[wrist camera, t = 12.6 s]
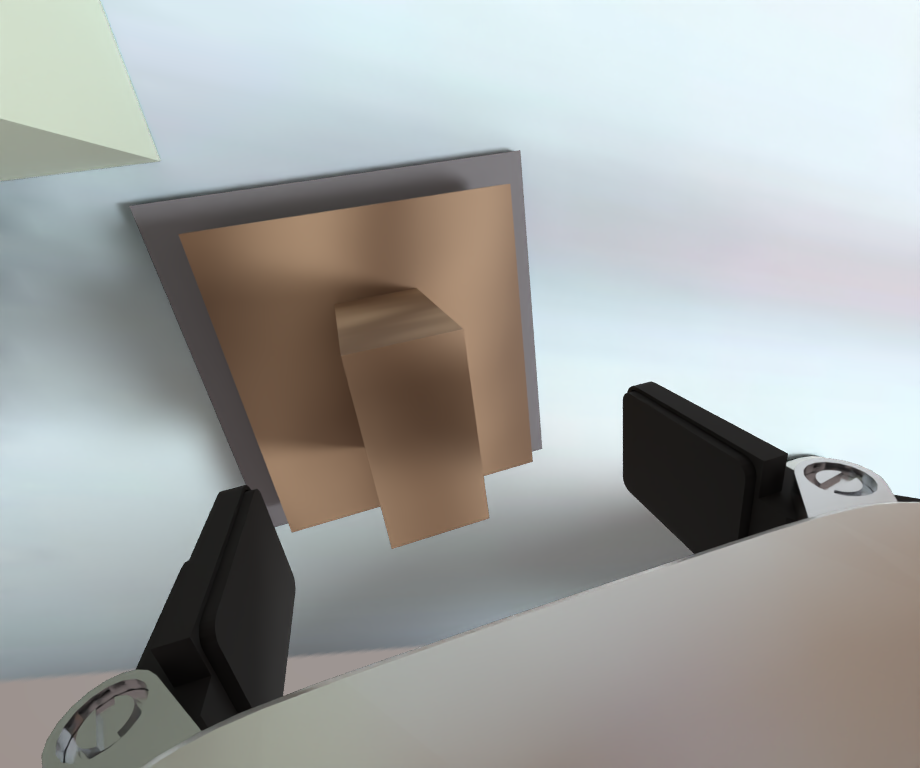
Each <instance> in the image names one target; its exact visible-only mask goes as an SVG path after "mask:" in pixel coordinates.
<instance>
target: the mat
mask: <svg viewBox="0 0 920 768" xmlns="http://www.w3.org/2000/svg"><path fill="white" fill-rule="evenodd" d="M503 184H510V185H511V198H512V210H513V223H514V235H515V248H516V260H517V273H518V285H519V298H520V310H521V323H522V335H523V348H524V360H525V373H526V385H527V398H528V410H529V422H530V435H531V447H532V452H533V451H536V450H539V449H542V441H541V427H540V413H539V400H538V386H537V372H536V359H535V345H534V331H533V318H532V304H531V290H530V277H529V263H528V249H527V236H526V222H525V209H524V195H523V181H522V168H521V154H520V150H519V151H512V152H505V153H498V154H491V155H484V156H477V157H470V158H463V159H456V160H449V161H442V162H435V163H428V164H421V165H414V166H407V167H400V168H393V169H386V170H378V171H371V172H364V173H357V174H350V175H343V176H336V177H329V178H322V179H315V180H308V181H301V182H294V183H287V184H280V185H273V186H266V187H259V188H252V189H245V190H238V191H231V192H223V193H216V194H209V195H202V196H195V197H188V198H181V199H174V200H167V201H160V202H153V203H146V204H139V205H132V206H129V207H130V209H131V211H132V214H133V216H134V219H135V221H136V223H137V226H138V228H139V231H140V233H141V235H142V238H143V240H144V242H145V245H146V247H147V250H148V252H149V254H150V257H151V259H152V262H153V264H154V266H155V269H156V271H157V274H158V276H159V278H160V281H161V283H162V285H163V288H164V290H165V293H166V295H167V297H168V300H169V302H170V305H171V307H172V309H173V312H174V314H175V316H176V319H177V321H178V324H179V326H180V328H181V331H182V333H183V336H184V338H185V340H186V343H187V345H188V347H189V350H190V352H191V355H192V357H193V359H194V362H195V364H196V367H197V369H198V371H199V374H200V376H201V378H202V381H203V383H204V386H205V388H206V390H207V393H208V395H209V398H210V400H211V402H212V405H213V407H214V409H215V412H216V414H217V417H218V419H219V421H220V424H221V426H222V429H223V431H224V433H225V436H226V438H227V440H228V443H229V445H230V448H231V450H232V452H233V455H234V457H235V460H236V462H237V464H238V467H239V469H240V471H241V474H242V476H243V479H244V481H245V483H246V485H247V486H249V487H250V489H251V490H254V489H258V490H259V491H260V493H261V495H262V497H263V500H264V502H265V505H266V507H267V510H268V512H269V515H270V518H271V520H272V523H273V525H274V527H277V526H280V525H284V524H287V523H288V521H287V518H286V515H285V513H284V510H283V508H282V505H281V502H280V500H279V497H278V495H277V492H276V489H275V487H274V484H273V481H272V479H271V476H270V474H269V471H268V468H267V466H266V463H265V460H264V458H263V455H262V453H261V450H260V447H259V445H258V442H257V439H256V437H255V434H254V432H253V429H252V426H251V424H250V421H249V418H248V416H247V413H246V411H245V408H244V405H243V403H242V400H241V397H240V395H239V392H238V390H237V387H236V384H235V382H234V379H233V376H232V374H231V371H230V369H229V366H228V363H227V361H226V358H225V355H224V353H223V350H222V348H221V345H220V342H219V340H218V337H217V334H216V332H215V329H214V327H213V324H212V321H211V319H210V316H209V313H208V311H207V308H206V306H205V303H204V300H203V298H202V295H201V292H200V290H199V287H198V285H197V282H196V279H195V277H194V274H193V271H192V269H191V266H190V264H189V261H188V258H187V256H186V253H185V251H184V248H183V245H182V243H181V240H180V237H179V235H178V234H182V233H187V232H194V231H200V230H207V229H213V228H220V227H227V226H233V225H240V224H246V223H253V222H259V221H266V220H272V219H279V218H286V217H292V216H299V215H305V214H312V213H318V212H325V211H332V210H338V209H345V208H351V207H358V206H364V205H371V204H377V203H384V202H391V201H397V200H404V199H410V198H417V197H423V196H430V195H437V194H443V193H450V192H456V191H463V190H469V189H476V188H482V187H489V186H496V185H503Z"/></svg>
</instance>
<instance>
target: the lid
mask: <svg viewBox="0 0 920 768" xmlns="http://www.w3.org/2000/svg"><path fill="white" fill-rule="evenodd" d="M178 235H179V237H180V240H181V243H182V245H183V248H184V251H185V253H186V256H187V258H188V261H189V264H190V266H191V269H192V271H193V274H194V277H195V279H196V282H197V285H198V287H199V290H200V292H201V295H202V298H203V300H204V303H205V306H206V308H207V311H208V313H209V316H210V319H211V321H212V324H213V327H214V329H215V332H216V334H217V337H218V340H219V342H220V345H221V348H222V350H223V353H224V355H225V358H226V361H227V363H228V366H229V369H230V371H231V374H232V376H233V379H234V382H235V384H236V387H237V390H238V392H239V395H240V397H241V400H242V403H243V405H244V408H245V411H246V413H247V416H248V418H249V421H250V424H251V426H252V429H253V432H254V434H255V437H256V439H257V442H258V445H259V447H260V450H261V453H262V455H263V458H264V460H265V463H266V466H267V468H268V471H269V474H270V476H271V479H272V481H273V484H274V487H275V489H276V492H277V495H278V497H279V500H280V502H281V505H282V508H283V510H284V513H285V515H286V518H287V521H288V523H289V526H290V529H291V531H292V532H295V531H299V530H302V529H306V528H309V527H312V526H316V525H319V524H323V523H326V522H329V521H333V520H336V519H340V518H343V517H346V516H350V515H353V514H357V513H360V512H363V511H367V510H370V509H374V508H377V507H380V506H381V510H382V513H383V517H384V521H385V525H386V529H387V532H388V536H389V540H390V544H391V547H392V549H393V548H397V547H400V546H403V545H406V544H409V543H412V542H416V541H419V540H422V539H425V538H428V537H431V536H435V535H438V534H441V533H444V532H447V531H450V530H454V529H457V528H460V527H463V526H466V525H469V524H473V523H476V522H479V521H482V520H485V519H488V518H489V512H488V505H487V498H486V490H485V483H484V476H486V475H489V474H492V473H496V472H499V471H503V470H506V469H509V468H513V467H516V466H520V465H523V464H526V463H530V462H533V460H532V447H531V435H530V422H529V410H528V398H527V385H526V373H525V360H524V348H523V335H522V323H521V310H520V298H519V285H518V273H517V260H516V248H515V235H514V223H513V210H512V198H511V185H510V184H503V185H496V186H489V187H482V188H476V189H469V190H463V191H456V192H450V193H443V194H437V195H430V196H423V197H417V198H410V199H404V200H397V201H391V202H384V203H377V204H371V205H364V206H358V207H351V208H345V209H338V210H332V211H325V212H318V213H312V214H305V215H299V216H292V217H286V218H279V219H272V220H266V221H259V222H253V223H246V224H240V225H233V226H227V227H220V228H213V229H207V230H200V231H194V232H187V233H182V234H178Z"/></svg>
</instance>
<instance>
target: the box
mask: <svg viewBox="0 0 920 768" xmlns="http://www.w3.org/2000/svg"><path fill="white" fill-rule="evenodd" d="M159 161H160V158H159V155H158V153H157V150H156V148H155V145H154V142H153V140H152V137H151V134H150V132H149V129H148V126H147V124H146V121H145V118H144V116H143V113H142V110H141V108H140V105H139V102H138V100H137V97H136V94H135V92H134V89H133V86H132V84H131V81H130V79H129V76H128V73H127V71H126V68H125V65H124V63H123V60H122V57H121V55H120V52H119V49H118V47H117V44H116V41H115V39H114V36H113V33H112V31H111V28H110V25H109V23H108V20H107V18H106V15H105V12H104V10H103V7H102V4H101V2H100V0H0V181H7V180H15V179H23V178H31V177H39V176H47V175H55V174H63V173H71V172H79V171H87V170H95V169H103V168H111V167H119V166H127V165H135V164H143V163H151V162H159Z"/></svg>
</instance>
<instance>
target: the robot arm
mask: <svg viewBox="0 0 920 768" xmlns="http://www.w3.org/2000/svg"><path fill="white" fill-rule="evenodd" d="M787 456H788V454H787V453H786V452H784V451H782V450H780V449H778V448H776V447H774V446H772V445H771V444H769V443H767V442H765V441H763V440H761V439H759V438H757V437H756V436H754V435H752V434H750V433H748V432H746V431H744V430H742V429H741V428H739V427H737V426H735V425H733V424H731V423H729V422H727V421H726V420H724V419H722V418H720V417H718V416H716V415H714V414H712V413H711V412H709V411H707V410H705V409H703V408H701V407H699V406H697V405H696V404H694V403H692V402H690V401H688V400H686V399H684V398H682V397H681V396H679V395H677V394H675V393H673V392H671V391H669V390H667V389H666V388H664V387H662V386H660V385H658V384H656V383H654V382H647V383H643V384H639V385H635V386H632V387H630V388H629V389H628V392H627V393H626V394H625V395H624V397H623V480H624V484H625V486H626V488H627V489H628V491H629V492H630V493H631V494H632V495H633V496H635V497H636V498H637V499H638V500H639V501H640V502H641V503H642V504H643V505H644V506H645V507H646V508H647V509H648V510H649V511H650V512H651V513H652V514H653V515H654V516H655V517H656V518H658V519H659V520H660V521H661V522H662V523H663V524H664V525H665V526H666V527H667V528H668V529H669V530H670V531H671V532H672V533H673V534H674V535H675V536H676V537H677V538H678V539H679V540H680V541H682V542H683V543H684V544H685V545H686V546H687V547H688V548H689V549H690V550H691V551H692V552H693V553H694V554H693V555H690V556H687V557H684V558H681V559H678V560H675V561H672V562H669V563H666V564H663V565H660V566H657V567H654V568H651V569H648V570H645V571H642V572H639V573H636V574H633V575H630V576H627V577H624V578H621V579H618V580H615V581H613V582H610V583H607V584H604V585H601V586H598V587H595V588H592V589H589V590H586V591H583V592H580V593H577V594H574V595H571V596H568V597H565V598H562V599H559V600H556V601H553V602H551V603H548V604H545V605H542V606H539V607H536V608H533V609H530V610H527V611H524V612H521V613H518V614H515V615H512V616H509V617H506V618H504V619H501V620H498V621H495V622H492V623H489V624H486V625H483V626H480V627H477V628H474V629H472V630H469V631H466V632H463V633H460V634H457V635H454V636H451V637H448V638H446V639H443V640H440V641H437V642H434V643H431V644H428V645H425V646H422V647H420V648H417V649H414V650H411V651H408V652H405V653H402V654H399V655H396V656H394V657H391V658H388V659H385V660H382V661H379V662H376V663H374V664H371V665H368V666H365V667H362V668H359V669H357V670H354V671H351V672H348V673H345V674H342V675H339V676H336V677H334V678H331V679H328V680H325V681H322V682H319V683H316V684H314V685H311V686H309V687H306V688H303V689H301V690H298V691H295V692H293V693H290V694H288V695H286V696H283V691H284V682H285V674H286V665H287V657H288V649H289V640H290V632H291V624H292V615H293V607H294V598H295V580H294V576H293V573H292V571H291V568H290V566H289V563H288V561H287V558H286V556H285V553H284V550H283V548H282V545H281V543H280V540H279V538H278V535H277V533H276V530H275V528H274V525H273V523H272V520H271V518H270V515H269V512H268V510H267V507H266V505H265V502H264V500H263V497H262V495H261V493H260V491H259V490H258V489H254V490H251V489H250V487H249V486H247V485H244V486H241V487H237V488H233V489H229V490H225V491H221V492H219V494H218V495H217V498H216V500H215V502H214V505H213V507H212V509H211V511H210V514H209V516H208V518H207V521H206V523H205V525H204V527H203V530H202V532H201V534H200V537H199V539H198V541H197V543H196V546H195V548H194V550H193V553H192V555H191V557H190V559H189V560H188V561H187V562H185V563H184V565H183V566H182V568H181V570H180V572H179V574H178V577H177V579H176V581H175V583H174V586H173V588H172V590H171V592H170V594H169V597H168V599H167V601H166V603H165V606H164V608H163V610H162V612H161V614H160V617H159V619H158V621H157V623H156V626H155V628H154V630H153V632H152V634H151V637H150V639H149V641H148V643H147V646H146V648H145V650H144V652H143V654H142V657H141V659H140V661H139V663H138V666H137V668H136V670H133V671H129V672H125V673H121V674H119V675H117V676H115V677H113V678H111V679H109V680H106V681H105V682H103V683H102V684H100V685H99V686H97V687H96V688H94V689H93V690H91V691H90V692H88V693H87V694H86V695H85V696H84V697H82V699H80V700H79V701H78V702H77V703H76V704H75V705H73V706H72V707H71V708H70V709H69V711H68V712H67V713H66V714H65V715H64V716H63V717H62V719H61V720H60V721H59V722H58V723H57V725H56V727H55V728H54V730H53V731H52V733H51V734H50V736H49V738H48V739H47V741H46V744H45V747H44V750H43V753H42V768H920V499H917V498H911V497H904V496H898V495H894V494H893V493H892V491H891V489H890V488H889V486H888V484H887V483H886V482H885V481H884V480H883V479H882V477H881V476H879V475H877V474H876V473H874V472H873V471H871V470H869V469H867V468H865V467H862V466H860V465H857V464H854V463H851V462H847V461H843V460H837V459H831V458H824V457H817V456H809V457H802V458H797V459H794V460H791V461H788V462H787Z"/></svg>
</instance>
